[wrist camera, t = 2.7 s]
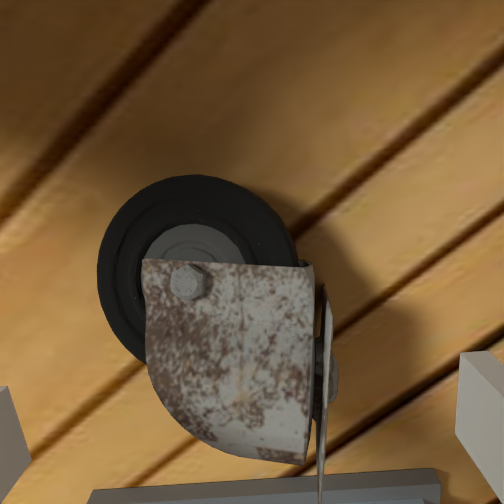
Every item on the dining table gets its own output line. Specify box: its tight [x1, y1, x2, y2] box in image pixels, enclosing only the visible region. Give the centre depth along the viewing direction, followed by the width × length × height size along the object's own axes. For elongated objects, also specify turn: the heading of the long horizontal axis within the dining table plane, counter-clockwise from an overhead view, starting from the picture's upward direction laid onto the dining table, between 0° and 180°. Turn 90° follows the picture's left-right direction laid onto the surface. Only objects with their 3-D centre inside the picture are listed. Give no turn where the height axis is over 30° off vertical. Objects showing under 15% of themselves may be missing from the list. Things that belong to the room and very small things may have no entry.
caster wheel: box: [97, 175, 338, 504], centre depth 16 cm, size 7×11×10 cm
